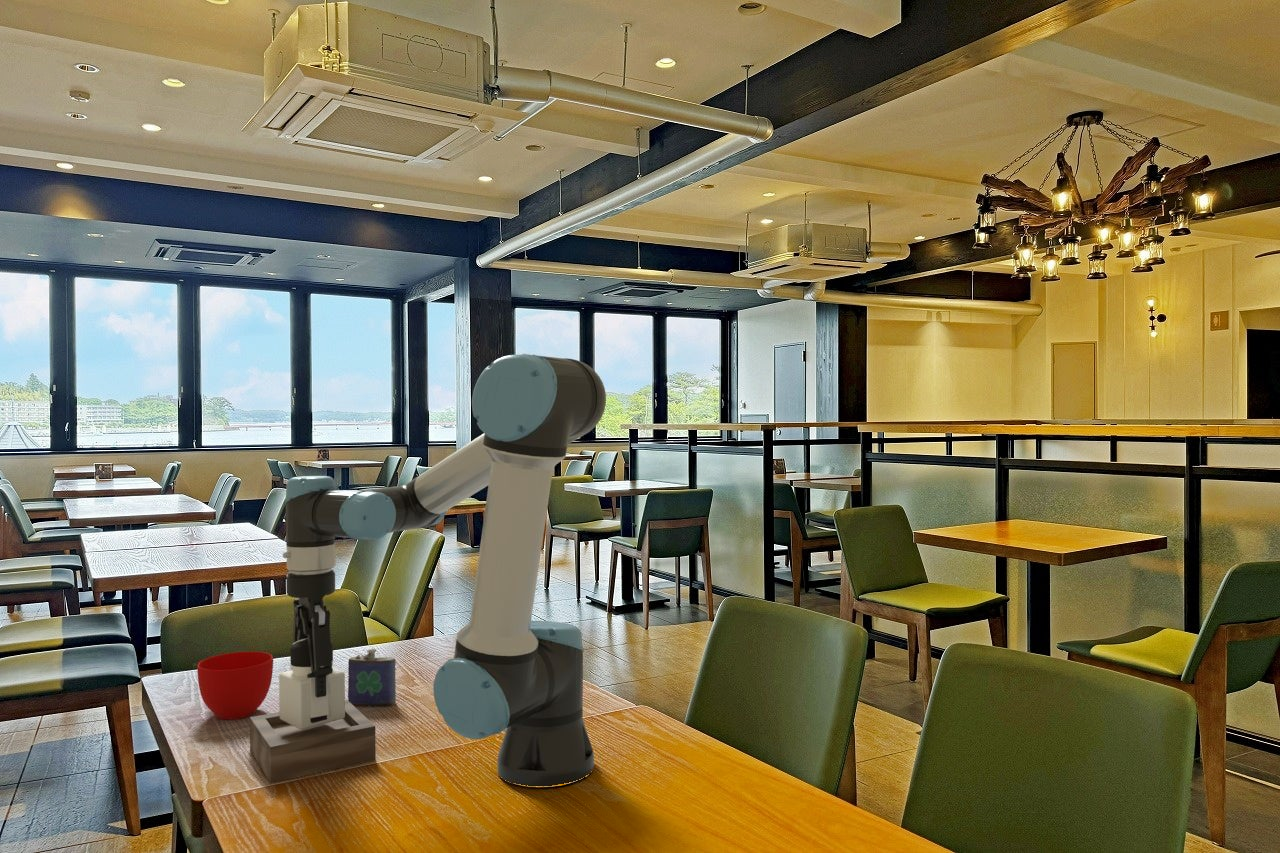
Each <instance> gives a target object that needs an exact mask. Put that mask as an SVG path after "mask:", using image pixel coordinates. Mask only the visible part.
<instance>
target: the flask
mask: <svg viewBox="0 0 1280 853" xmlns="http://www.w3.org/2000/svg"><path fill="white" fill-rule="evenodd" d="M376 652H377V649H375V648H371V649H367V654H365V655H364V654H357V655H356V656H352V657H349V659H348V668H347V669H348V676H347V677H348V680H347V681H348V682H347V684H348V687H347V700H348V701H349V702H350V703H351V704H352V705H353V706H354V707H364V708H365V707H371V708H372V707H389V706H394V705H396V703H397V696H396V691H397V690H396V687H397V686H396V685H397V684H396V683H397V682H396V664H397V660H396V658H395V657H393V656H389V657H382V656H381V657H377V656H376Z"/></svg>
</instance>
